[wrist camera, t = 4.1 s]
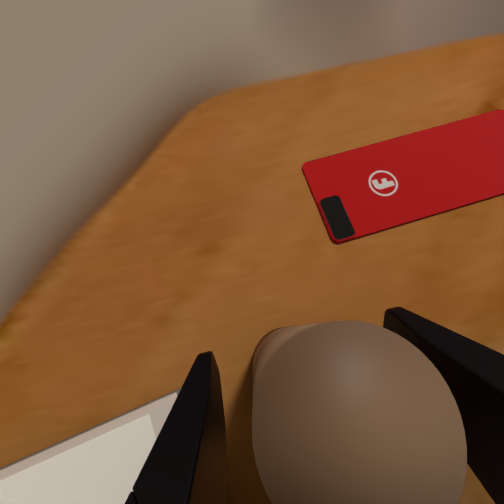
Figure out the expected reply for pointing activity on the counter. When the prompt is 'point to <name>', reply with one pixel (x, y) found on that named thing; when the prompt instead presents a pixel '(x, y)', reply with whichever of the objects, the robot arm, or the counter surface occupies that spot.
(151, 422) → the bore block
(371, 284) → the counter surface
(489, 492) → the robot arm
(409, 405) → the walnut pin
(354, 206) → the electronic device
